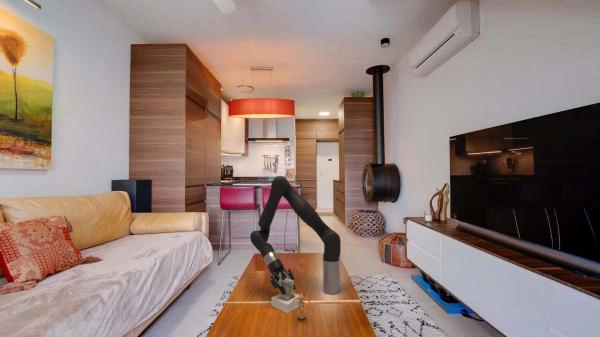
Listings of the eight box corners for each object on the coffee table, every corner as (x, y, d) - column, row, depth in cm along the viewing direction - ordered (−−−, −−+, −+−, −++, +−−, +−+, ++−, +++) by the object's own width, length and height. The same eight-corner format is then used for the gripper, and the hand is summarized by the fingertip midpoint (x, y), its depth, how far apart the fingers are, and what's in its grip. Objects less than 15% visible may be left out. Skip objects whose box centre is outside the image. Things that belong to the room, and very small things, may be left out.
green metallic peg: (287, 302, 131) (286, 278, 131) (293, 305, 128) (293, 280, 129) (280, 305, 128) (280, 280, 128) (287, 308, 125) (287, 283, 125)
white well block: (287, 298, 136) (287, 290, 136) (302, 304, 128) (302, 296, 128) (271, 305, 127) (271, 297, 128) (287, 313, 120) (287, 304, 120)
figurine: (310, 316, 118) (310, 289, 118) (310, 323, 112) (310, 295, 112) (292, 316, 118) (292, 289, 118) (291, 323, 112) (291, 295, 112)
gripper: (266, 261, 128) (282, 293, 120) (286, 255, 139) (303, 283, 131) (259, 270, 132) (275, 301, 123) (279, 263, 142) (295, 291, 134)
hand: (289, 291), depth 127 cm, fingers open, 6 cm apart
